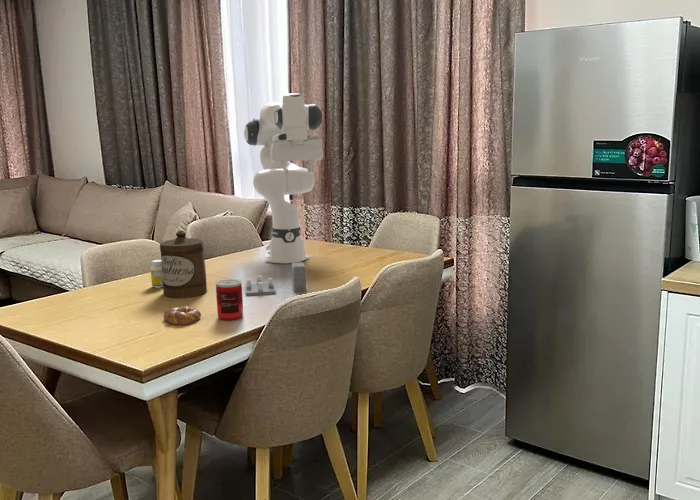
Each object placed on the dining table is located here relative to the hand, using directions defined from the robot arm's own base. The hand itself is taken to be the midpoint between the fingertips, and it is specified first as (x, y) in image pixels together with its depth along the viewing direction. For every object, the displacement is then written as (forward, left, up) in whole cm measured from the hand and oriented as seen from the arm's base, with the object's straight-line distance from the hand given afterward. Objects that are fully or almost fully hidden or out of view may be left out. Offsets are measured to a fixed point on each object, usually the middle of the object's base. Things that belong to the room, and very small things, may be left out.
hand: (298, 172), depth 260 cm
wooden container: (+15, -46, -39) cm, 62 cm away
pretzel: (+49, -50, -39) cm, 80 cm away
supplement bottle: (+2, -54, -39) cm, 67 cm away
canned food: (+52, -36, -39) cm, 74 cm away
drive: (+27, -8, -39) cm, 48 cm away
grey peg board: (+23, -21, -39) cm, 49 cm away
